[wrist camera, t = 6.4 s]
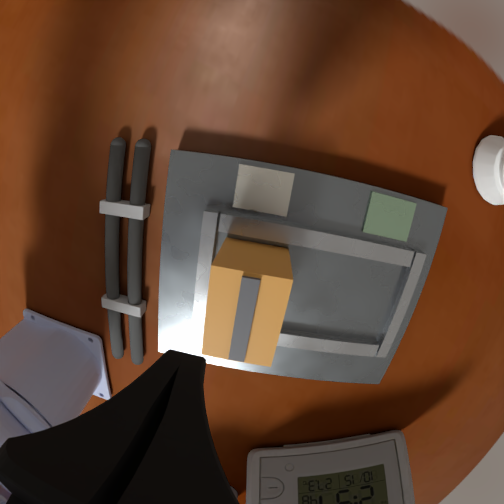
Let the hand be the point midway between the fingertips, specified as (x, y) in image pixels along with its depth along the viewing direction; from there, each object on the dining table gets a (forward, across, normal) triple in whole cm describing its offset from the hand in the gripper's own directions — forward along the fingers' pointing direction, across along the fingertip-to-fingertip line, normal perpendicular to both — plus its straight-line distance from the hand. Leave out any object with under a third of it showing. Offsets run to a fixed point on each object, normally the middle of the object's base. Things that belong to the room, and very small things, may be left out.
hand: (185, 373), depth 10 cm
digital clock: (+10, -13, +18) cm, 25 cm away
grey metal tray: (+10, -5, 0) cm, 11 cm away
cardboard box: (+9, -2, 0) cm, 9 cm away
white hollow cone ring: (+10, -18, -11) cm, 23 cm away
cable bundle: (+10, +7, +1) cm, 12 cm away
